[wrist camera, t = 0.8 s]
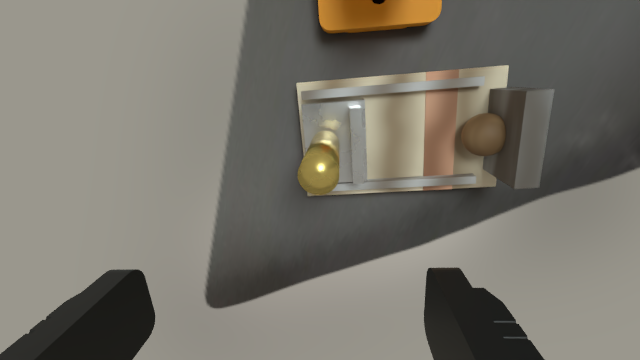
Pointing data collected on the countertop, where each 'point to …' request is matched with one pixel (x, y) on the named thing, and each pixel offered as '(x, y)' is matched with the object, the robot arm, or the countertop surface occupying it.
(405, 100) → the board
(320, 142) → the handle
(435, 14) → the bracket
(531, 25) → the countertop surface
